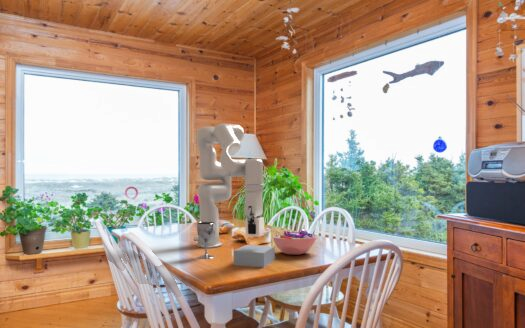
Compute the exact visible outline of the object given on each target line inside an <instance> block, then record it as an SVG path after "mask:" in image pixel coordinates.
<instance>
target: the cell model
mask: <svg viewBox="0 0 525 328" xmlns="http://www.w3.org/2000/svg"><path fill="white" fill-rule="evenodd" d="M317 238H318V236H317V235H316V234H313V233H309V232H308V231H307V230H306V229H305V228H301V229H300V231H299V232H298V231H297V232H295V231H292V232H291V231H288V230H287V231H286V230H284V231H283V233H282V232H281V233H276V234H273V236H272V239H273V242H274V245H275V246H276V248H277V249H278V250H279V251H281V253H282V252H283V253H284V254H286V255H294V256H295V255H303V254H306V253H308V252H309V251H310V250H311V249H312V247H313V246H314V244H315V242H316V240H317Z"/></svg>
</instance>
